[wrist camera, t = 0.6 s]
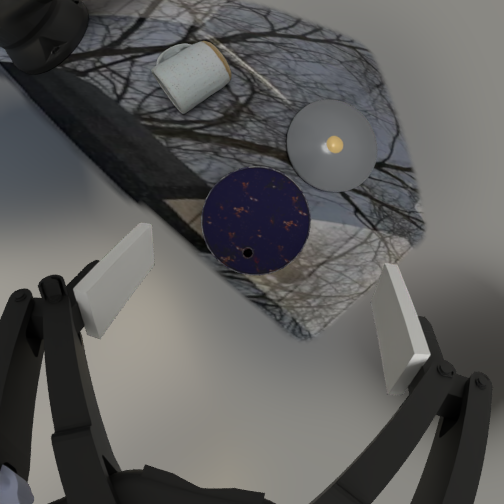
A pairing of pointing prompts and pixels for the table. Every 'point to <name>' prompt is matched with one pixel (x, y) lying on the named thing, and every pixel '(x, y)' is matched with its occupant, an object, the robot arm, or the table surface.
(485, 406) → the robot arm
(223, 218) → the navy cylinder
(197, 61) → the ceramic mug
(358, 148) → the grey flat round disc
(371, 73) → the table surface
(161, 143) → the table surface
